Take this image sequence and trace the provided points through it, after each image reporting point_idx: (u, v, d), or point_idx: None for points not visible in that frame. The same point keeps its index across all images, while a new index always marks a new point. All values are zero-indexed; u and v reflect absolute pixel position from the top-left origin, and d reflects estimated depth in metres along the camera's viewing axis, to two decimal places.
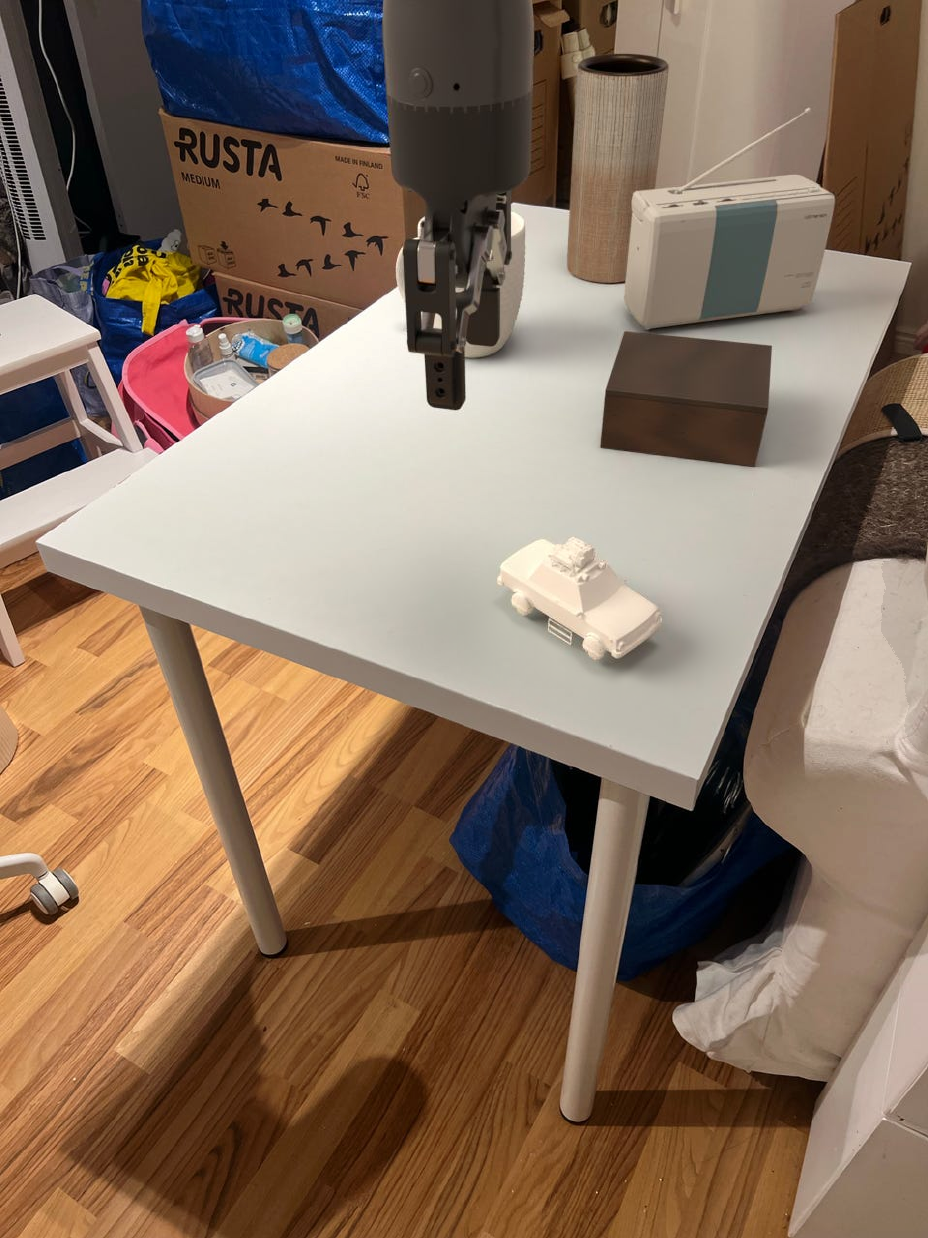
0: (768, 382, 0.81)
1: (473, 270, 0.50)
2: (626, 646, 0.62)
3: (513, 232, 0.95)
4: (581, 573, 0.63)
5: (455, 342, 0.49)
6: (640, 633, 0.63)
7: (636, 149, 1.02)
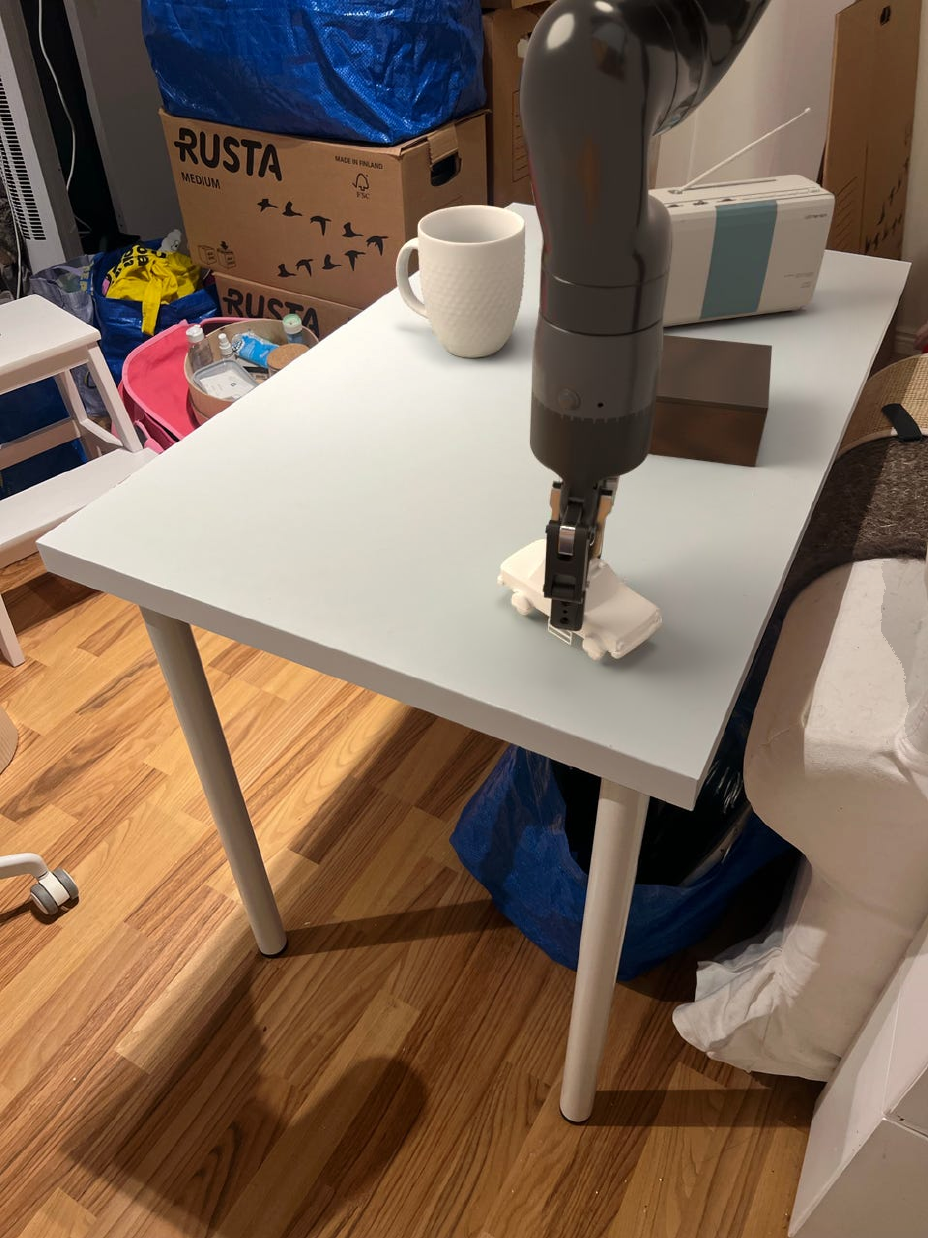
0: (768, 382, 0.81)
1: (598, 528, 0.58)
2: (626, 646, 0.62)
3: (513, 232, 0.95)
4: None
5: (585, 592, 0.57)
6: (640, 633, 0.63)
7: None
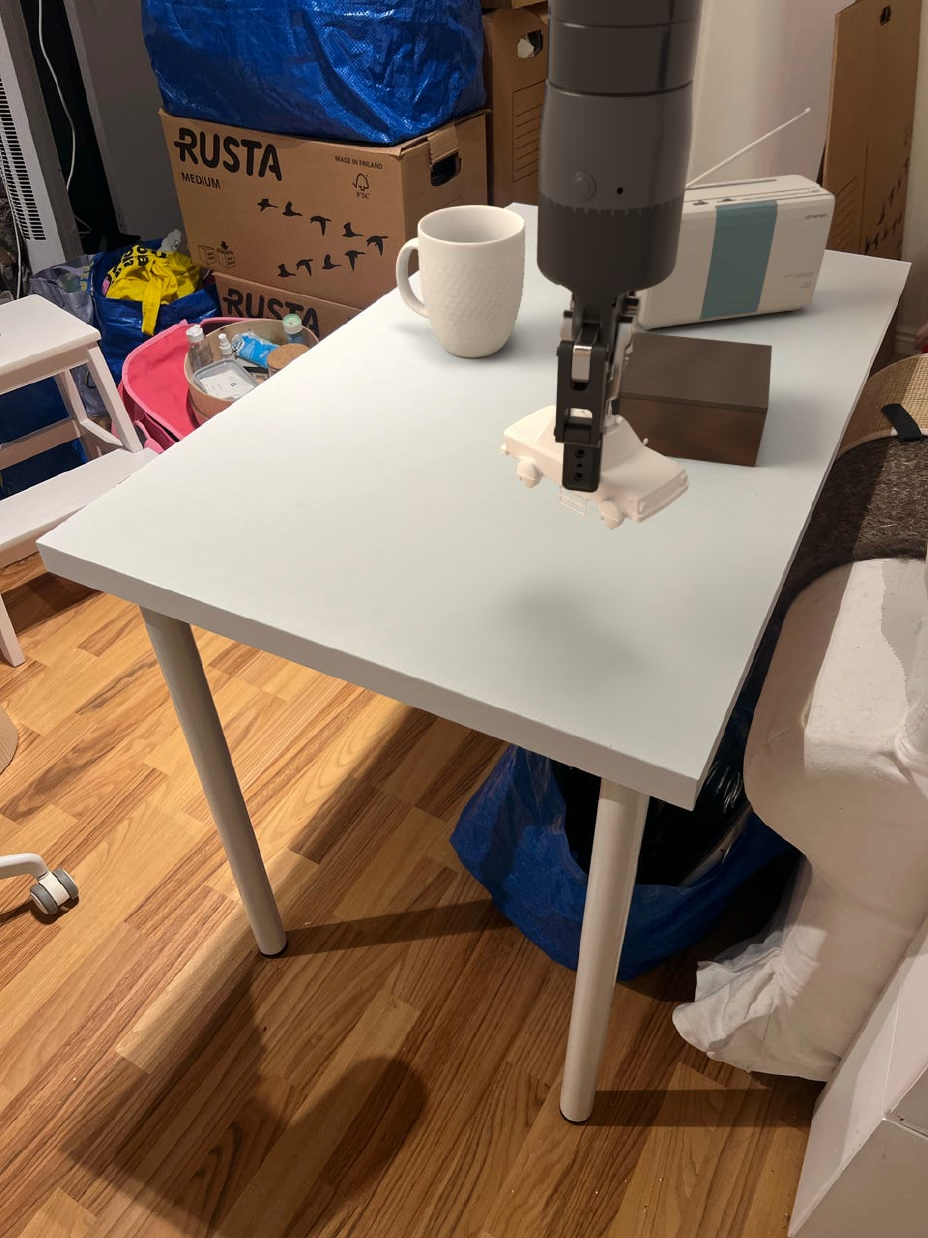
0: (768, 382, 0.81)
1: (617, 361, 0.50)
2: (649, 509, 0.55)
3: (513, 232, 0.95)
4: None
5: (602, 433, 0.50)
6: (664, 495, 0.55)
7: None
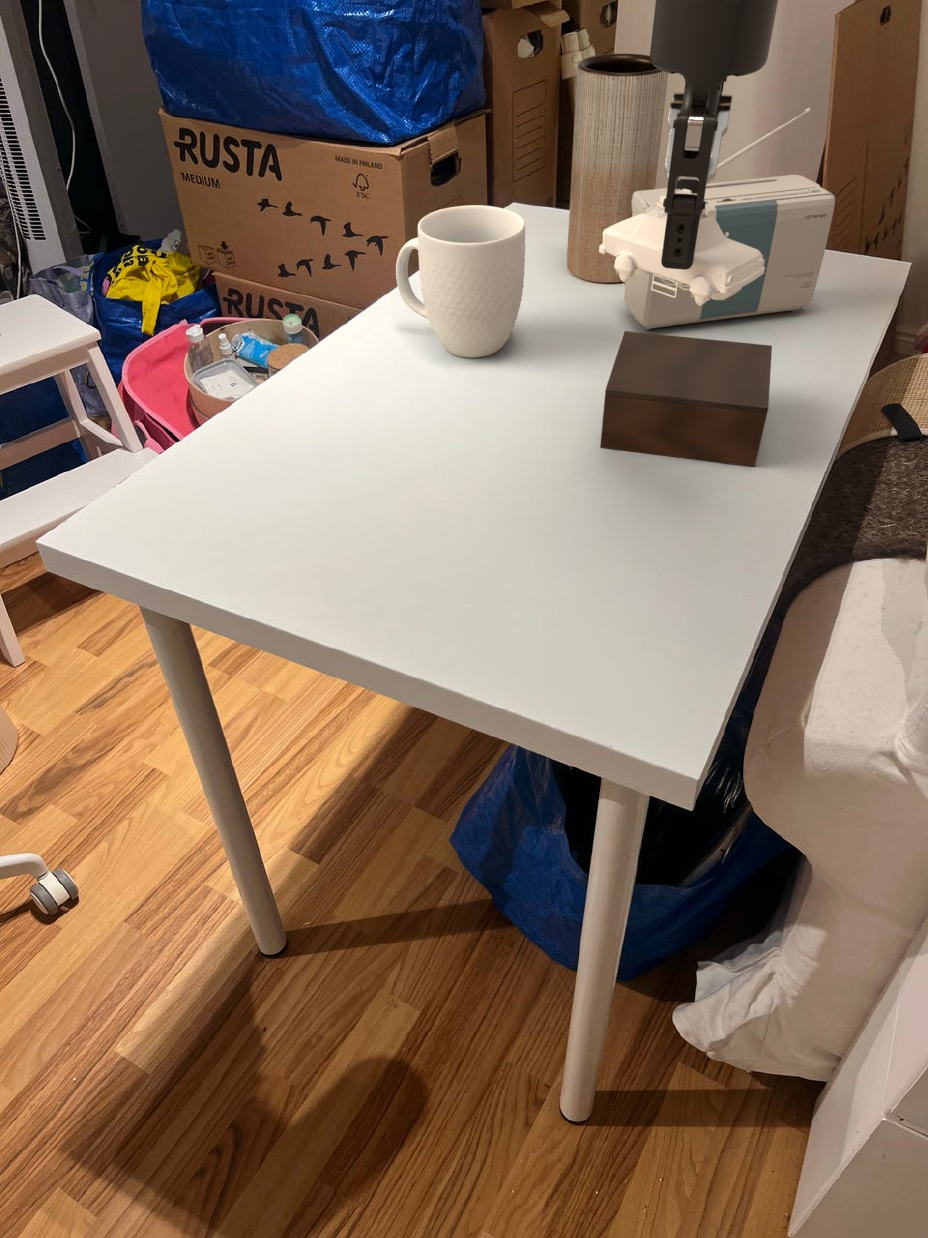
0: (768, 382, 0.81)
1: (716, 143, 0.60)
2: (734, 283, 0.65)
3: (513, 232, 0.95)
4: None
5: (705, 202, 0.60)
6: (746, 273, 0.65)
7: (636, 149, 1.02)
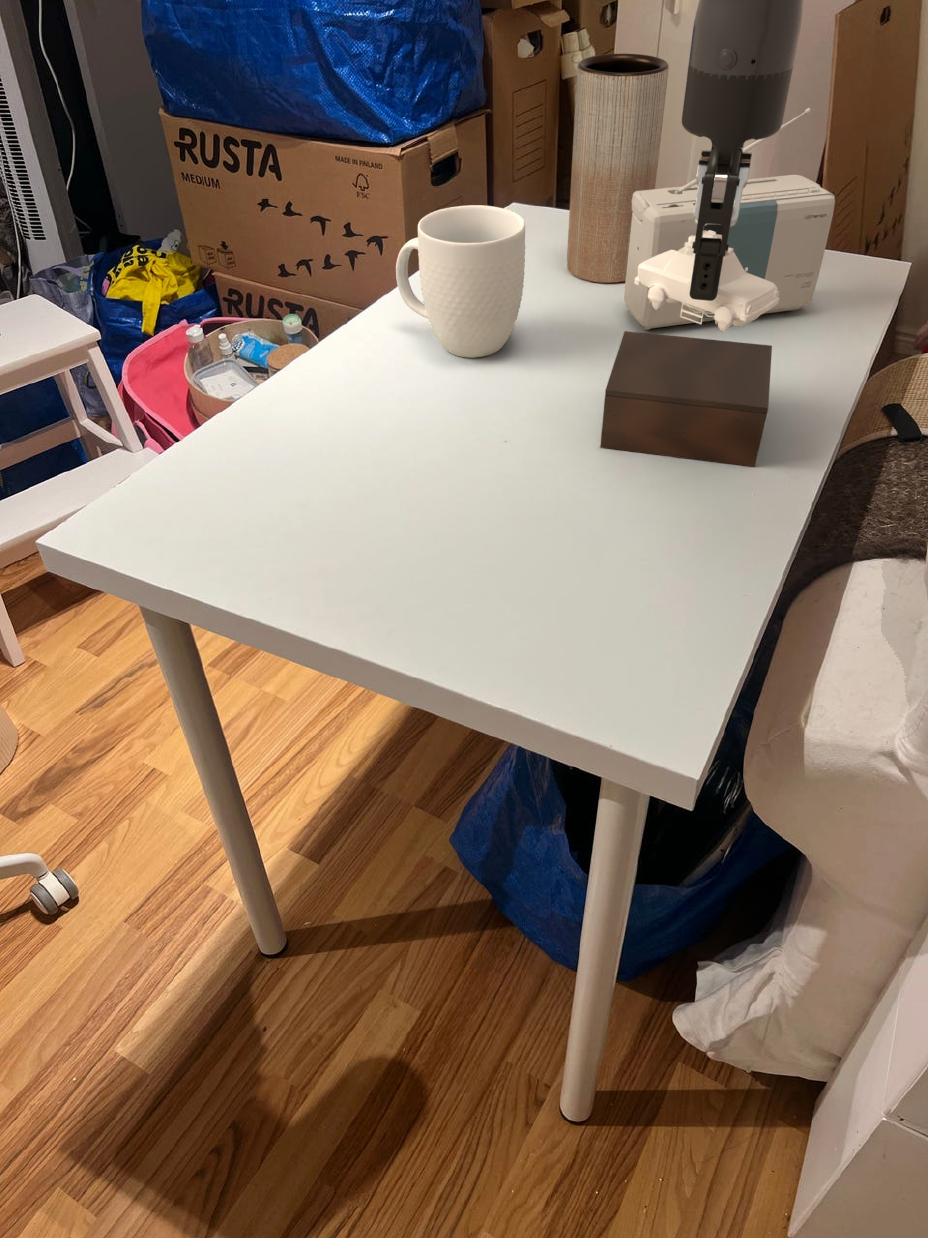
0: (768, 382, 0.81)
1: (738, 195, 0.71)
2: (752, 312, 0.75)
3: (513, 232, 0.95)
4: None
5: (728, 245, 0.70)
6: (763, 303, 0.75)
7: (636, 149, 1.02)
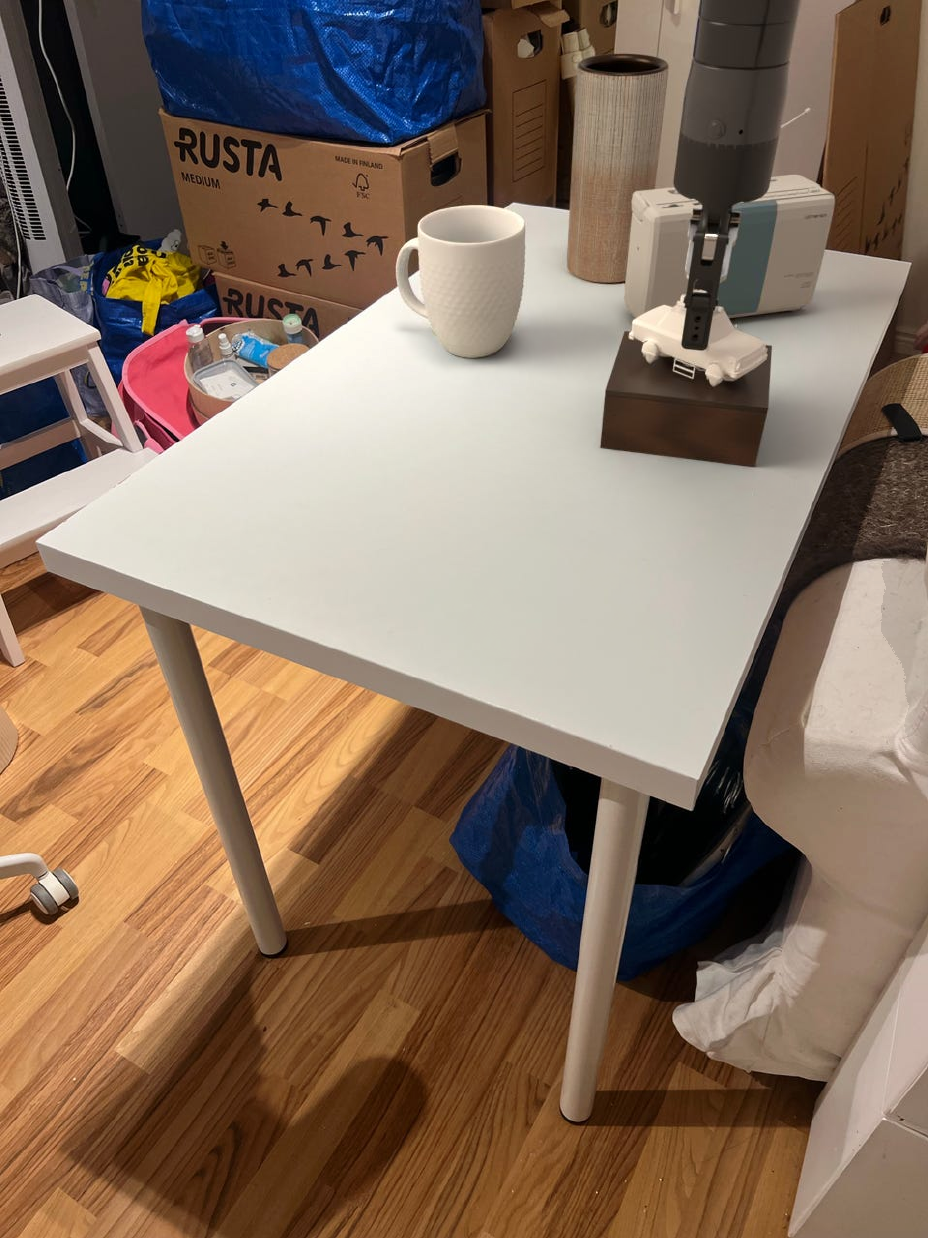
0: (768, 382, 0.81)
1: (727, 252, 0.74)
2: (742, 369, 0.79)
3: (513, 232, 0.95)
4: None
5: (718, 300, 0.73)
6: (752, 360, 0.79)
7: (636, 149, 1.02)
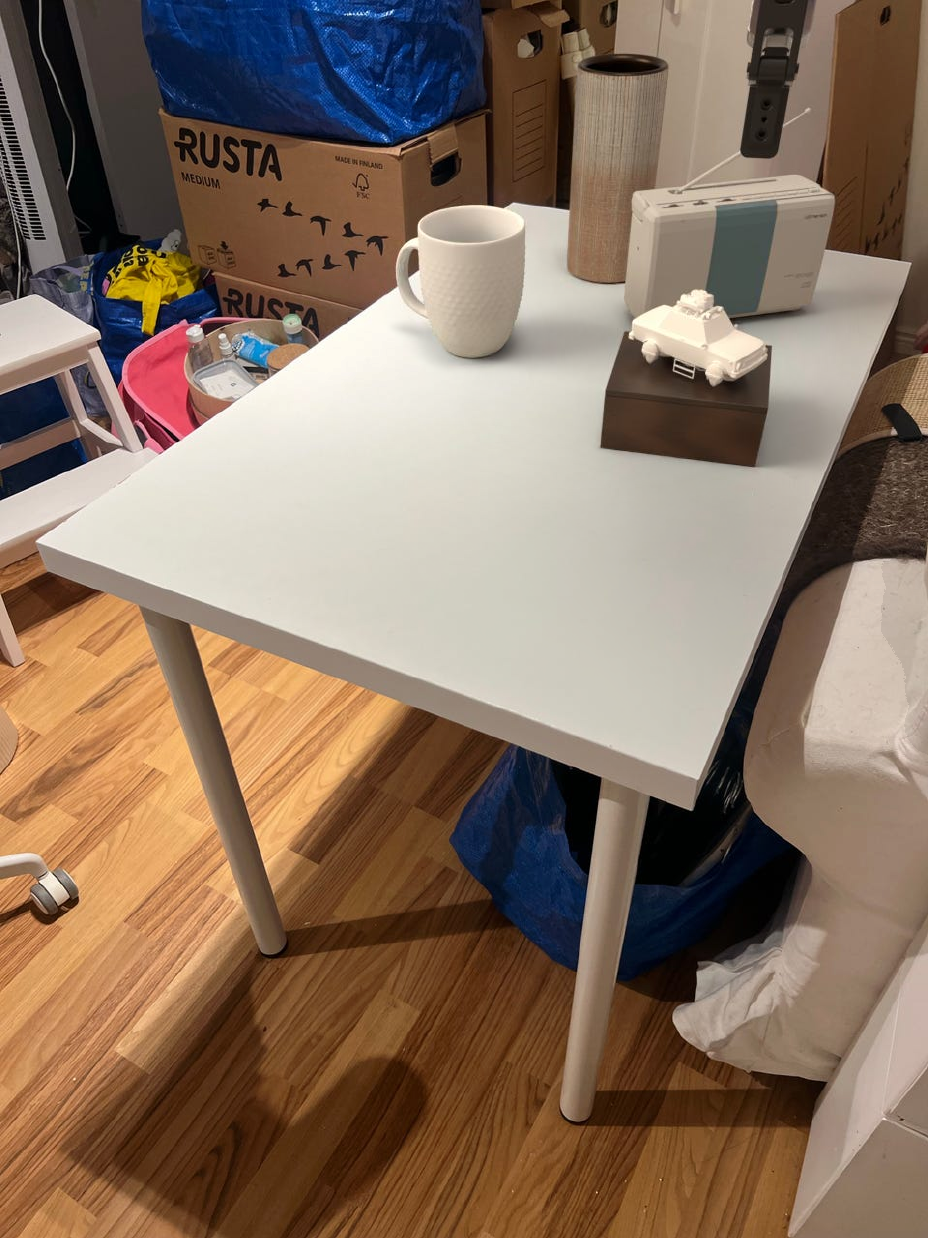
0: (768, 382, 0.81)
1: None
2: (742, 369, 0.79)
3: (513, 232, 0.95)
4: (705, 313, 0.79)
5: None
6: (752, 360, 0.79)
7: (636, 149, 1.02)
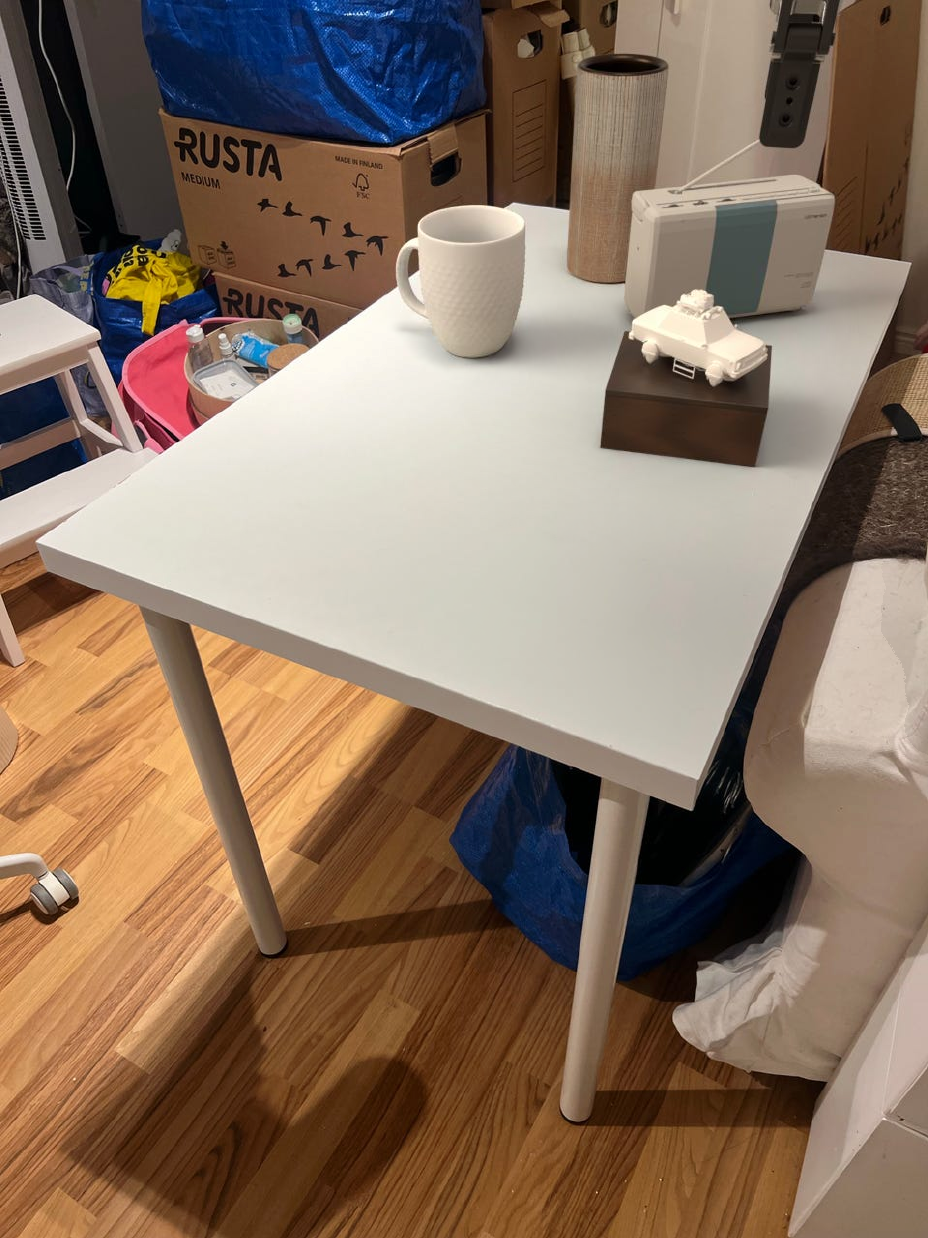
0: (768, 382, 0.81)
1: None
2: (742, 369, 0.79)
3: (513, 232, 0.95)
4: (705, 313, 0.79)
5: (834, 34, 0.41)
6: (752, 360, 0.79)
7: (636, 149, 1.02)
